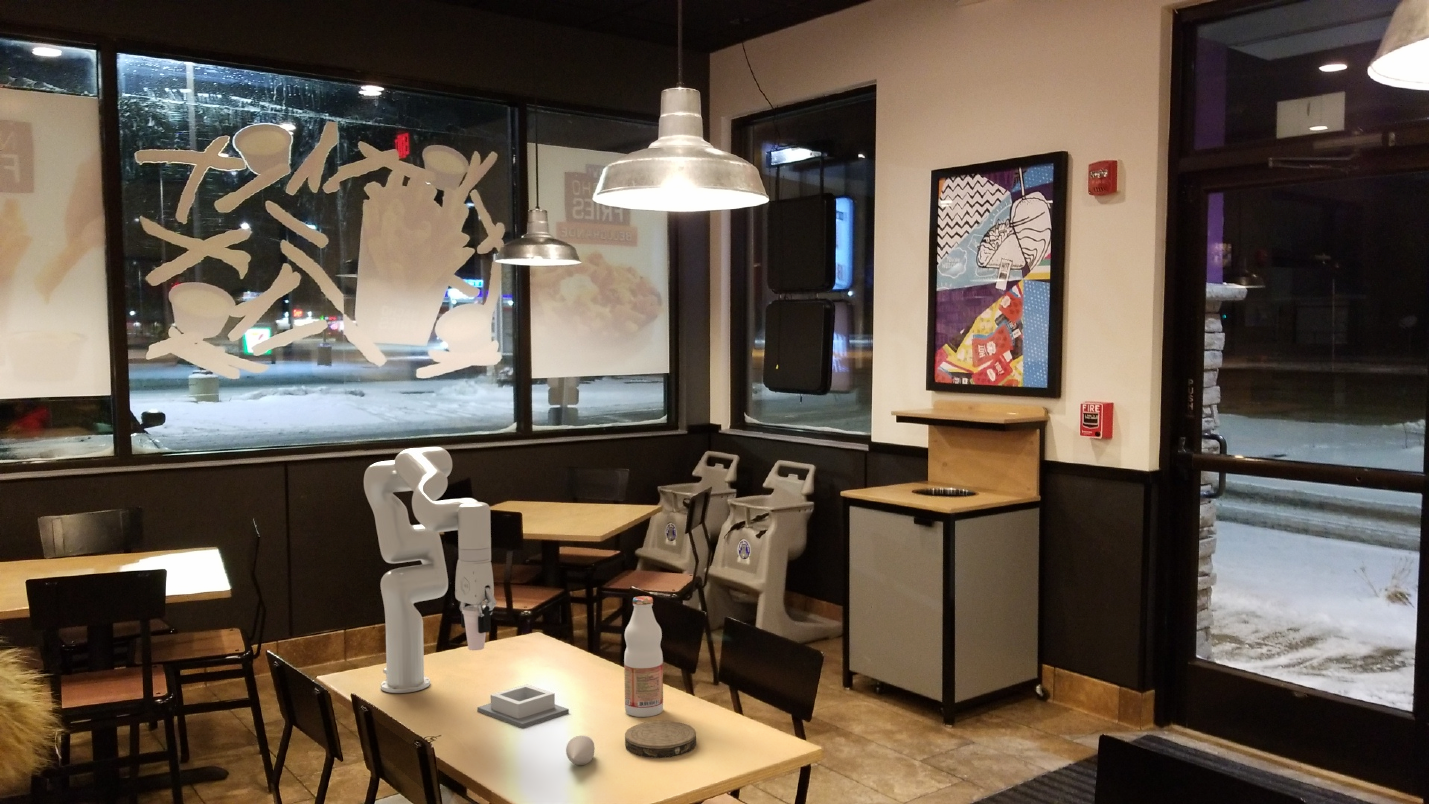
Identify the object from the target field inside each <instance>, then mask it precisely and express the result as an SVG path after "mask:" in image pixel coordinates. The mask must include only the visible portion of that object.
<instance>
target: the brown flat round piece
mask: <svg viewBox="0 0 1429 804" xmlns="http://www.w3.org/2000/svg"><path fill="white" fill-rule="evenodd" d="M624 745H625V750H626V751H627V752H628V753H630V754H632V755H634V756H638V757H643V758H647V759H667V758H675V757H679V756H684V755H685V754H689V753H690V752H692V751H693V750H694V749H695V748H696V745H697V732H696V730H695V728H694V727H693V726H691V725H690V724H686V723H684V722H678V721H673V720H656V721H655V720H654V721H648V722H642V723H638V724H635V725H633V726H631V727H629V728H628V729H626V730H625V733H624Z"/></svg>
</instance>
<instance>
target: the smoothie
mask: <svg viewBox="0 0 1429 804" xmlns="http://www.w3.org/2000/svg"><path fill="white" fill-rule="evenodd" d="M482 607H483V610H484V608H485V607H486V605H484V606H482ZM462 614H464V621H465V628H464V629H465V635H466V642H467V649H468V650H469V651H481V650H483V649H485V644H486V643H485V642H486V634H487V632H485V633H478V616H480V614H479V610H478V606H477V605H471V606H467V607H464V608H463V609H462Z"/></svg>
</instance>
